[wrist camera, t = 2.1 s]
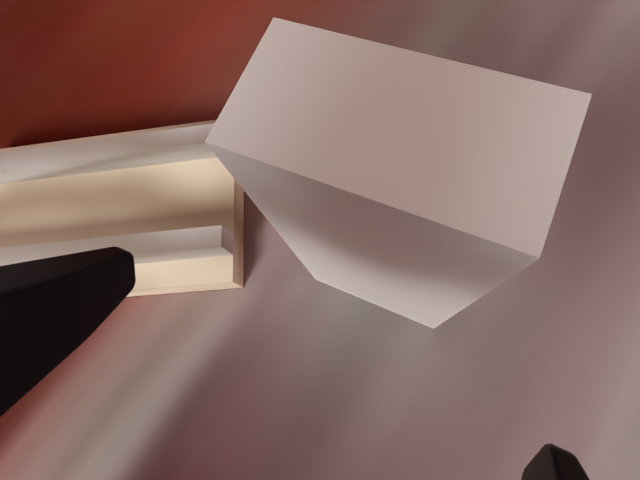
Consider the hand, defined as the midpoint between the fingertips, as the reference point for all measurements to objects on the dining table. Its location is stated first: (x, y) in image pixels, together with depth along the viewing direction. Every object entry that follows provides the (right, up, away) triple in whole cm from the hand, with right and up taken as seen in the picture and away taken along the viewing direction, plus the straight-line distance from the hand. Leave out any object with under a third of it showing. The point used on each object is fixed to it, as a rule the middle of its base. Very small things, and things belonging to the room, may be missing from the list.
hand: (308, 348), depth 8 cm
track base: (-12, +3, +14) cm, 19 cm away
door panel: (+3, +1, +11) cm, 12 cm away
